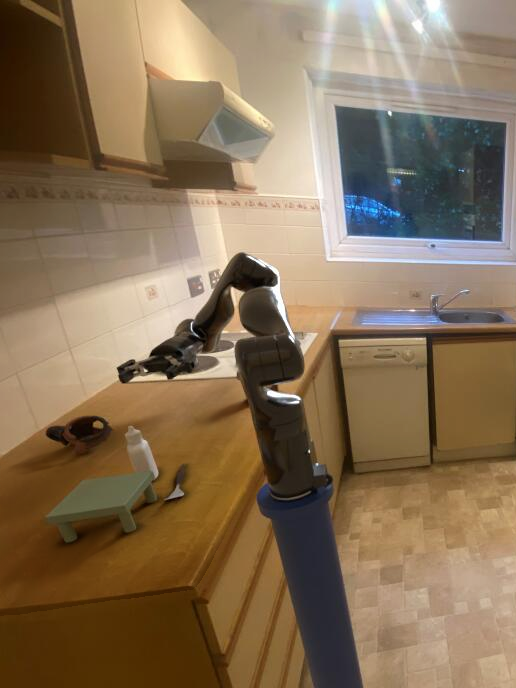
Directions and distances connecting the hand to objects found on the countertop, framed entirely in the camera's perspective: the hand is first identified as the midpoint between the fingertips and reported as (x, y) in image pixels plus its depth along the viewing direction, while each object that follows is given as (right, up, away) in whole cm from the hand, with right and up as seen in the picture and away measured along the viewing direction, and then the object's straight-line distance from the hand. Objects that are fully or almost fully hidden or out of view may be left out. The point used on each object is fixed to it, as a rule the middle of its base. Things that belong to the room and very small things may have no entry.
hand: (145, 377), depth 95 cm
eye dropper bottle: (+3, -21, -3) cm, 22 cm away
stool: (+7, -26, -15) cm, 31 cm away
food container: (+4, -6, +35) cm, 36 cm away
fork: (+11, -22, -5) cm, 26 cm away
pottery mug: (-22, -16, +9) cm, 28 cm away
